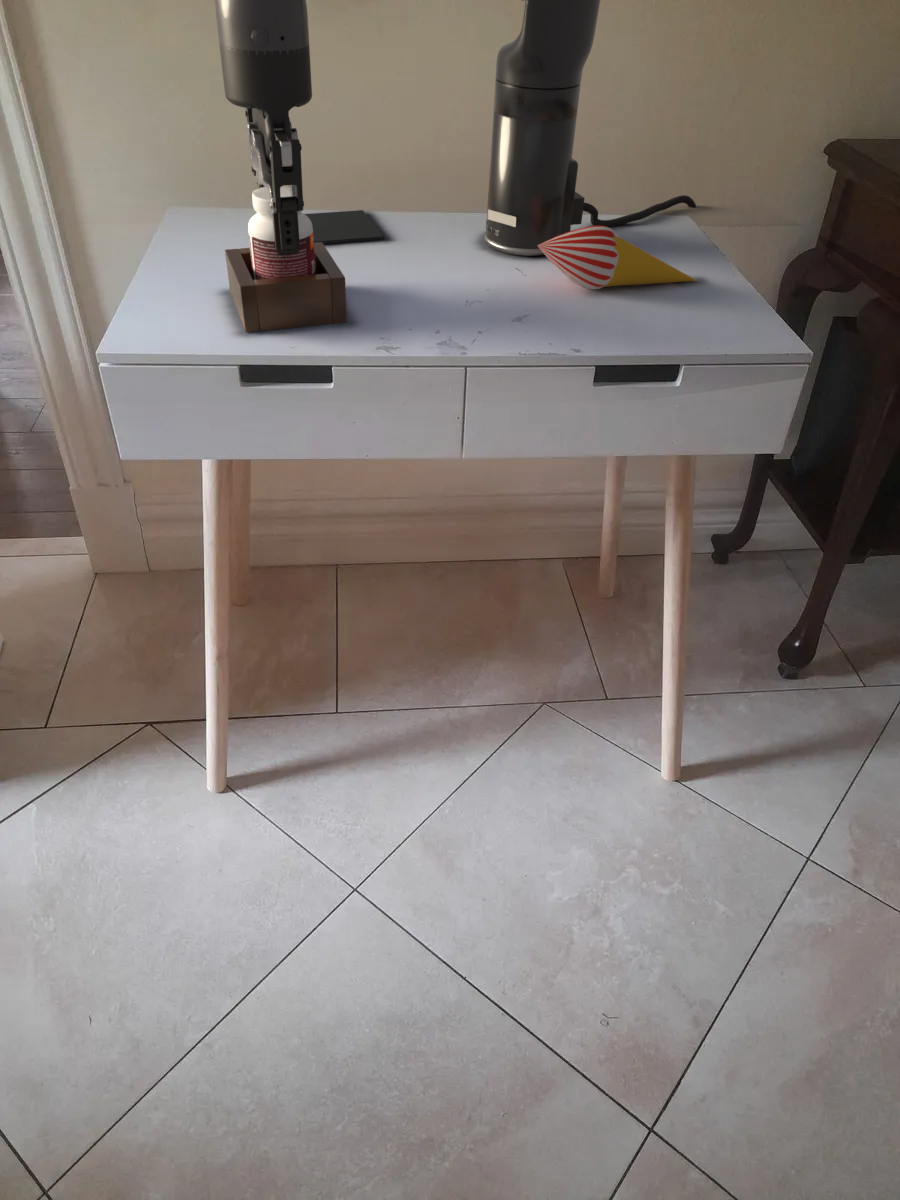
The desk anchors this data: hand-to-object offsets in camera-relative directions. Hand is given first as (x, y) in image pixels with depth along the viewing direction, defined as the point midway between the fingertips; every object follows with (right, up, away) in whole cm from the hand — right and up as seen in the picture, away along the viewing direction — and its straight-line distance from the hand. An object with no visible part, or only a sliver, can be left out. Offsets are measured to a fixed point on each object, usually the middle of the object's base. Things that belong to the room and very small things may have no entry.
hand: (281, 240), depth 86 cm
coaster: (+2, +11, +23) cm, 25 cm away
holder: (0, -5, +4) cm, 7 cm away
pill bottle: (0, -5, +4) cm, 7 cm away
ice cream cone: (+35, -1, +12) cm, 37 cm away
